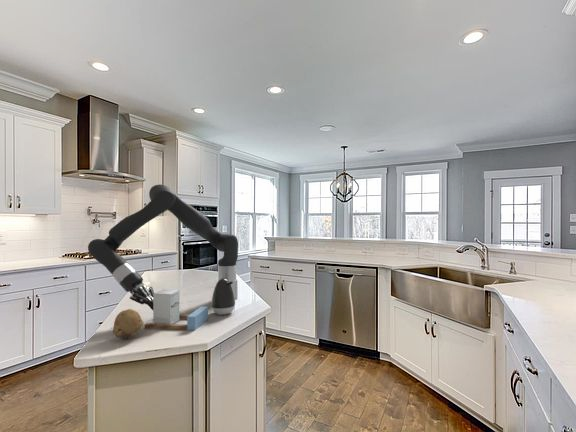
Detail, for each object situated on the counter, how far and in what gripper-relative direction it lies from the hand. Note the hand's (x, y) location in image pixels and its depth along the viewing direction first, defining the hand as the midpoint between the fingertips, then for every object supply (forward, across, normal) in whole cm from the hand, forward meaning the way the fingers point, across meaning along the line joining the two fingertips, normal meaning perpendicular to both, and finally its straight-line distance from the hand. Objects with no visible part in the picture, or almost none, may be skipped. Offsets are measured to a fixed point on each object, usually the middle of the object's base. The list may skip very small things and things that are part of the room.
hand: (156, 308), depth 121 cm
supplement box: (+7, 0, -1) cm, 7 cm away
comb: (+9, -1, +1) cm, 9 cm away
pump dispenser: (+20, -15, +12) cm, 28 cm away
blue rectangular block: (+16, -1, +8) cm, 18 cm away
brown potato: (+4, +15, -5) cm, 17 cm away
